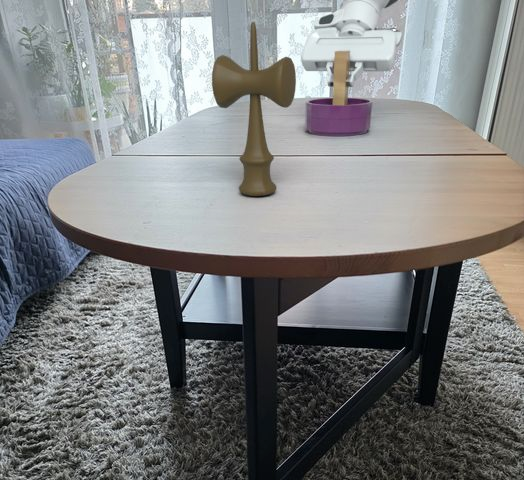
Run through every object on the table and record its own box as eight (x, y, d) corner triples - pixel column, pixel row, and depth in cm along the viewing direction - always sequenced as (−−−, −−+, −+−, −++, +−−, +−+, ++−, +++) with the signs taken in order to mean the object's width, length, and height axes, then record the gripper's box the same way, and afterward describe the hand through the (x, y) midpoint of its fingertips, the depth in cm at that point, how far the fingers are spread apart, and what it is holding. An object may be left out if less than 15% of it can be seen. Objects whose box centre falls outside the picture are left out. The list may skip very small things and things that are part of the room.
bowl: (361, 125, 119) (363, 96, 115) (377, 135, 107) (380, 104, 103) (301, 127, 118) (301, 98, 115) (310, 137, 106) (311, 106, 103)
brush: (328, 123, 116) (331, 50, 108) (358, 124, 114) (363, 49, 106) (318, 128, 111) (320, 52, 103) (349, 130, 108) (354, 51, 100)
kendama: (235, 185, 74) (226, 23, 63) (297, 190, 71) (300, 20, 60) (216, 196, 69) (204, 22, 59) (283, 202, 66) (282, 20, 56)
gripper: (404, 40, 109) (390, 96, 106) (314, 42, 116) (298, 94, 114) (403, 15, 103) (387, 73, 101) (308, 18, 110) (291, 73, 108)
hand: (339, 84), depth 107 cm, fingers closed on brush, 2 cm apart
